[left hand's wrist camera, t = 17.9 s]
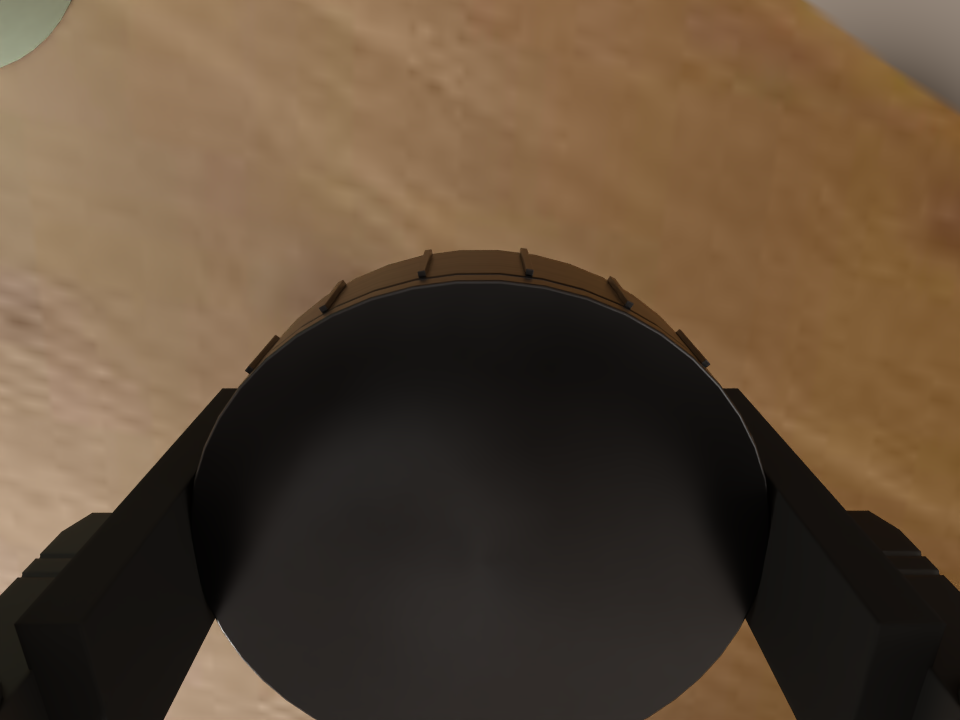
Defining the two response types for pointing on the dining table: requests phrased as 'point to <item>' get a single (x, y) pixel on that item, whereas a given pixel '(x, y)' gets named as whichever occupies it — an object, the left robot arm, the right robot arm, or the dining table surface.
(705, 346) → the dining table surface
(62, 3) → the jar
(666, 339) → the lid
